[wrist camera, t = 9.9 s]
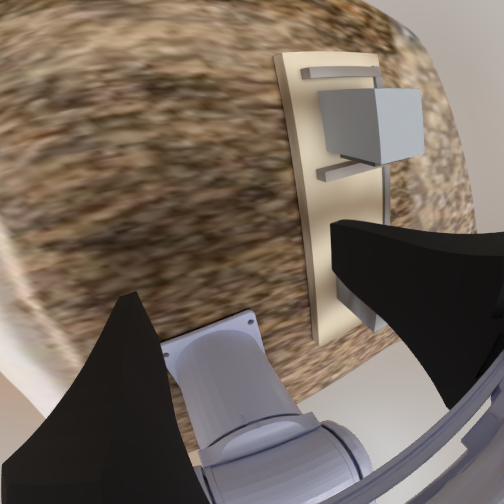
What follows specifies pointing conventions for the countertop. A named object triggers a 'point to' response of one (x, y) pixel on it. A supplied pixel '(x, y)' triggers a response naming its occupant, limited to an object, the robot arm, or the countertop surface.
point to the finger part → (373, 124)
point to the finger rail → (330, 180)
